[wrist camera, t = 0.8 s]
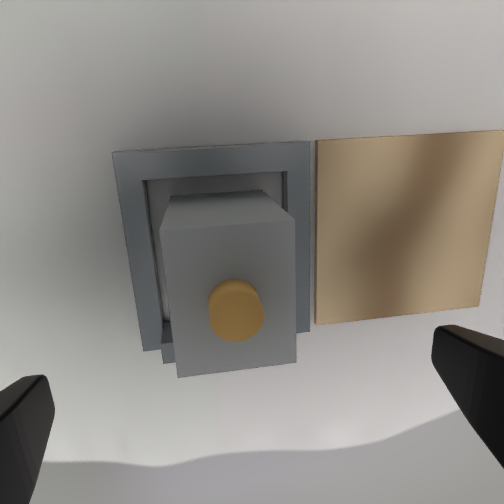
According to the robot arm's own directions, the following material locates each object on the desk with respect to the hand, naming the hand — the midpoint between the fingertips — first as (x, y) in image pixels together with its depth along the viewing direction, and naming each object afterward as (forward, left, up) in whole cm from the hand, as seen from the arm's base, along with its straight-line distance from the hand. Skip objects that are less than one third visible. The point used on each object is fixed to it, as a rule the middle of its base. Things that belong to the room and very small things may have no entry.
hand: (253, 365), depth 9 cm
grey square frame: (0, 0, -9) cm, 9 cm away
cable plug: (0, 0, -9) cm, 9 cm away
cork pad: (-9, 0, -9) cm, 13 cm away
